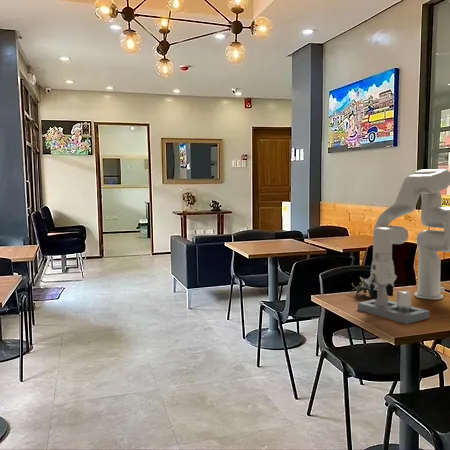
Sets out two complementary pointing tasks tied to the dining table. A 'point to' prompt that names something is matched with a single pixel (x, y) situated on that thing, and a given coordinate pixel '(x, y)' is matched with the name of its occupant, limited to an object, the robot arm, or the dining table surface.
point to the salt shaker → (381, 296)
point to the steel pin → (404, 302)
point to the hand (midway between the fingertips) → (381, 297)
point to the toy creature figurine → (360, 286)
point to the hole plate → (394, 312)
